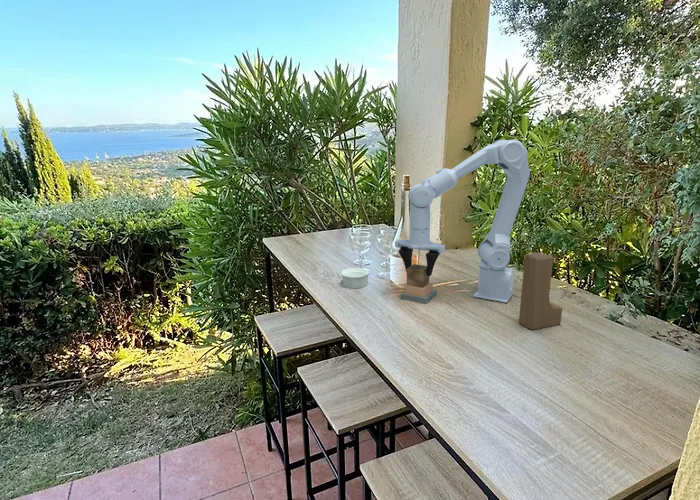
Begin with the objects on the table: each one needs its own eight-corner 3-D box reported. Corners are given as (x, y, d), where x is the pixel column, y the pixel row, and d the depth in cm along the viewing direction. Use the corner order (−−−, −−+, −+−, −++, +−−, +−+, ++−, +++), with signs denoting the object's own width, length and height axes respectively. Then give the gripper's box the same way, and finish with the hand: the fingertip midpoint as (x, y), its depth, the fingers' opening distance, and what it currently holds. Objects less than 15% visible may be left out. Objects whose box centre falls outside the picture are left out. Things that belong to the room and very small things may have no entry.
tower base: (436, 297, 119) (436, 289, 118) (426, 307, 112) (426, 298, 111) (411, 292, 123) (411, 285, 122) (400, 301, 116) (400, 293, 116)
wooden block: (547, 317, 102) (554, 249, 97) (561, 324, 97) (569, 254, 93) (517, 322, 99) (524, 253, 94) (530, 330, 95) (538, 258, 90)
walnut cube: (429, 282, 117) (429, 266, 116) (422, 287, 113) (423, 271, 111) (413, 279, 119) (413, 264, 118) (406, 285, 115) (406, 268, 114)
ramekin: (358, 291, 123) (358, 278, 122) (336, 286, 128) (335, 273, 127) (374, 283, 130) (374, 270, 128) (352, 278, 135) (352, 266, 134)
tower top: (432, 291, 117) (432, 283, 116) (423, 297, 112) (423, 289, 112) (414, 287, 120) (414, 279, 120) (404, 293, 116) (404, 285, 115)
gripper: (390, 228, 112) (390, 273, 116) (439, 233, 105) (437, 281, 108) (401, 223, 118) (400, 267, 122) (448, 228, 110) (446, 274, 114)
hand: (418, 273), depth 115 cm, fingers open, 6 cm apart
